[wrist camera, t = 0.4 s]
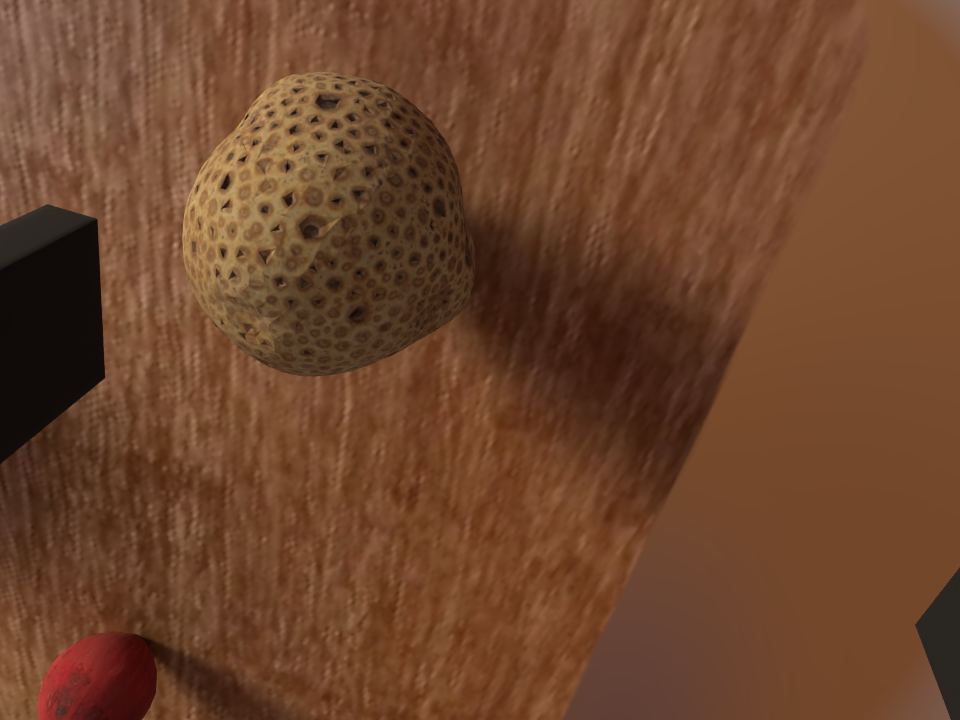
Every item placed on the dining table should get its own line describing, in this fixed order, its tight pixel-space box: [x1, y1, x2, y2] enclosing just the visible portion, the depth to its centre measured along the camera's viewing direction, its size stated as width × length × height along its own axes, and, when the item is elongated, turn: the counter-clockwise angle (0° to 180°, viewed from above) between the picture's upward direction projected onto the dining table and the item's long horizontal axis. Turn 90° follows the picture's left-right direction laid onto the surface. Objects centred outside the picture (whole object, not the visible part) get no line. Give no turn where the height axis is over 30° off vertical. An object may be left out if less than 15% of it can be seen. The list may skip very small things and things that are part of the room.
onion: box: [37, 632, 157, 720], centre depth 43 cm, size 6×6×8 cm
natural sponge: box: [183, 72, 476, 377], centre depth 25 cm, size 9×9×10 cm
